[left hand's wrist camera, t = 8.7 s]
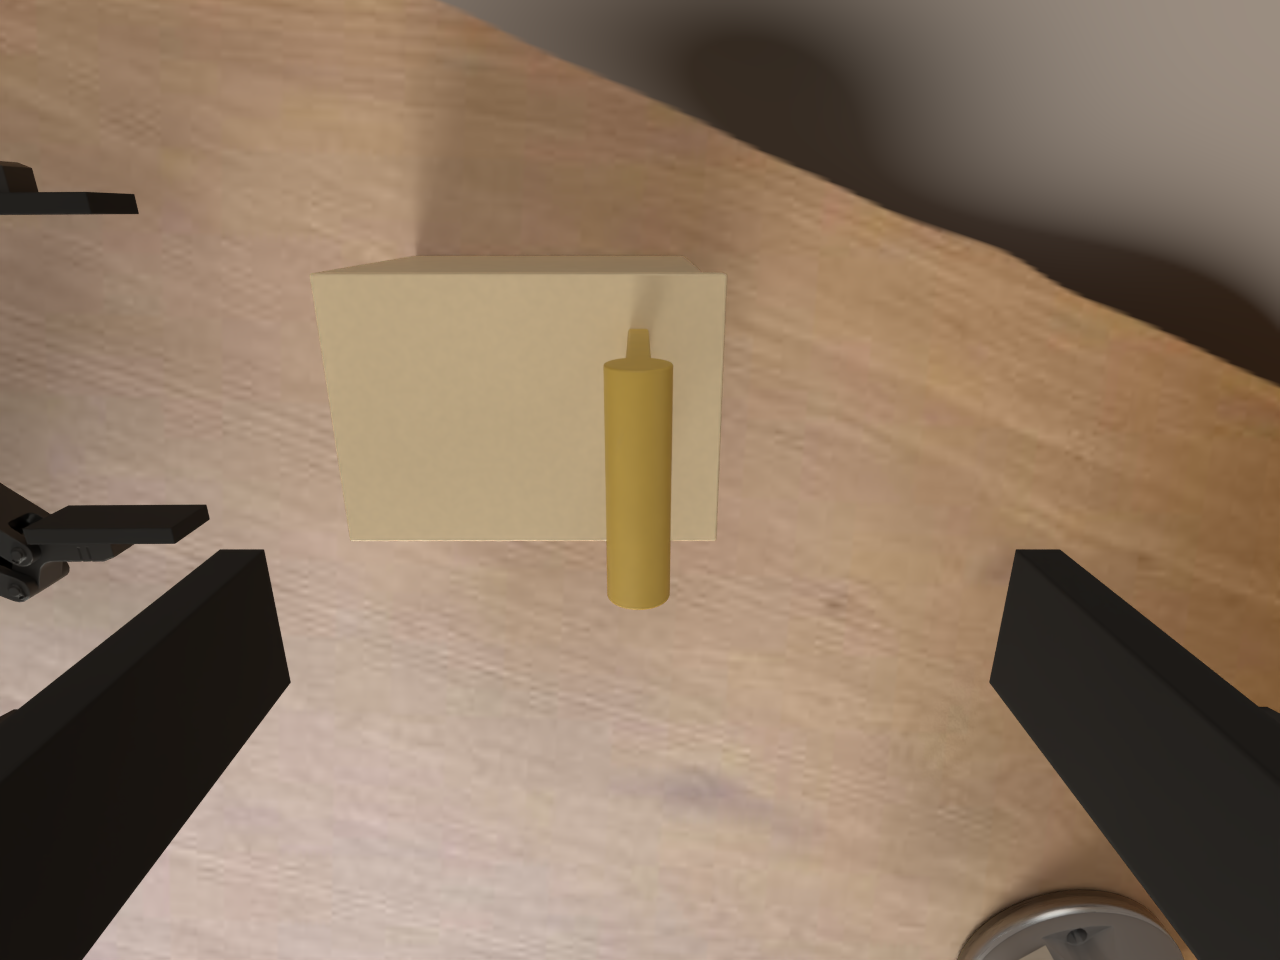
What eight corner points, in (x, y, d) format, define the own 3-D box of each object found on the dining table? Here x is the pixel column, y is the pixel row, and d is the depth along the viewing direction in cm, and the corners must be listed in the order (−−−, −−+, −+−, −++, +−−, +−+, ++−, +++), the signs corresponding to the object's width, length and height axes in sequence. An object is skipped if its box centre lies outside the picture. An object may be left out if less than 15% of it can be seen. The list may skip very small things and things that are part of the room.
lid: (724, 271, 25) (767, 299, 16) (714, 532, 28) (745, 662, 20) (318, 271, 25) (158, 299, 16) (357, 532, 28) (241, 663, 20)
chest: (684, 255, 35) (703, 272, 25) (680, 446, 38) (695, 532, 28) (414, 255, 35) (319, 271, 25) (434, 446, 38) (357, 532, 28)
